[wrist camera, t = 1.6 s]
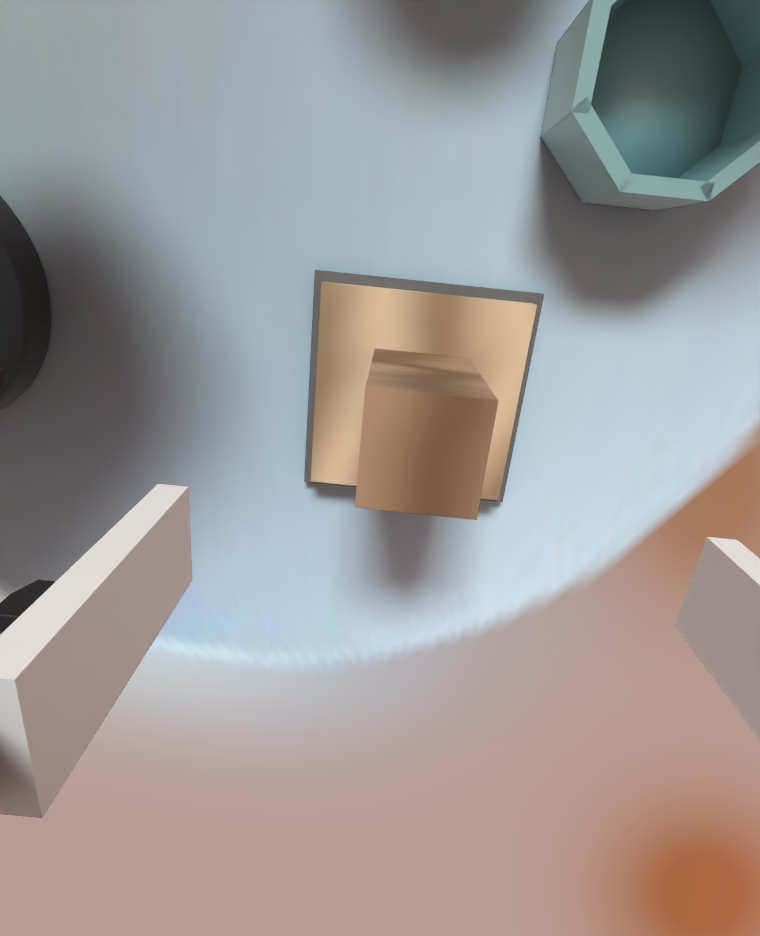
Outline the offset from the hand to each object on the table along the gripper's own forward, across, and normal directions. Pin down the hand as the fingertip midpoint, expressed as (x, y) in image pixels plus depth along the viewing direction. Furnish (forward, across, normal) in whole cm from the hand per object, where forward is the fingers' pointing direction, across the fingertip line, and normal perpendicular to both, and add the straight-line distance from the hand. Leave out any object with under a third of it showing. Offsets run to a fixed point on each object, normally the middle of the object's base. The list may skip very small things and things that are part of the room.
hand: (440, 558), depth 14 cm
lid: (+18, 0, 0) cm, 18 cm away
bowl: (+18, +9, +15) cm, 25 cm away
